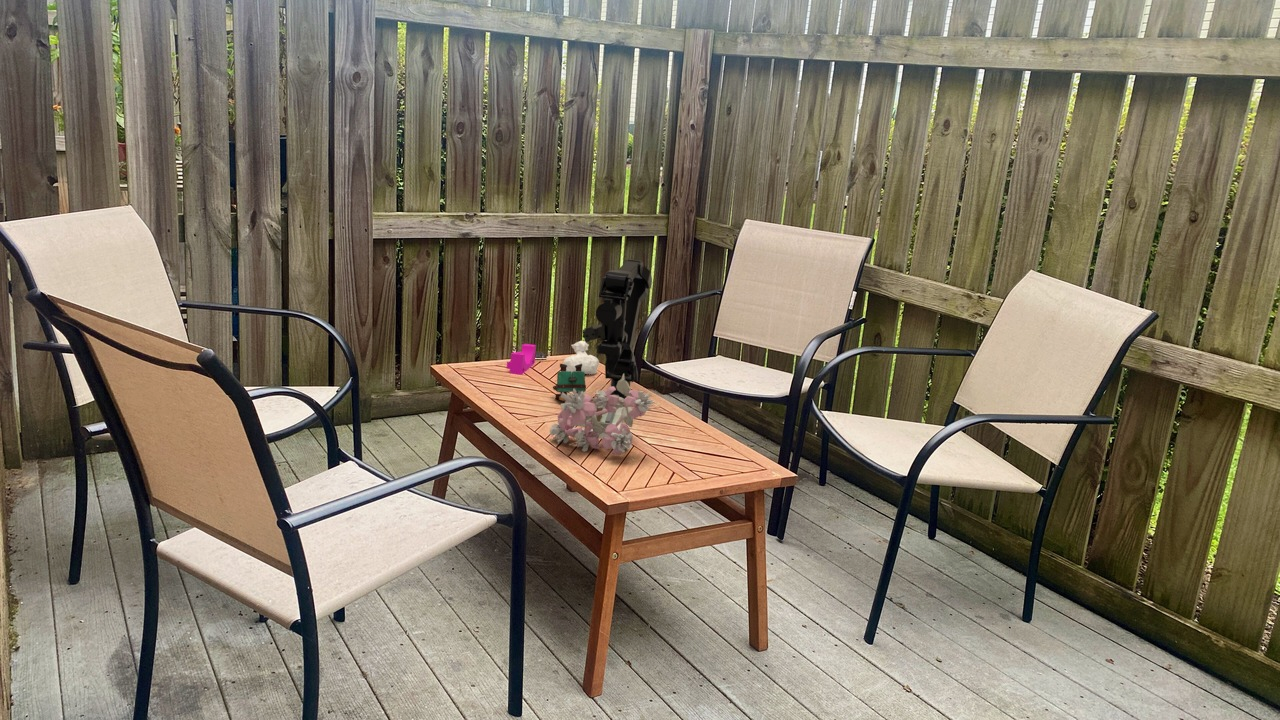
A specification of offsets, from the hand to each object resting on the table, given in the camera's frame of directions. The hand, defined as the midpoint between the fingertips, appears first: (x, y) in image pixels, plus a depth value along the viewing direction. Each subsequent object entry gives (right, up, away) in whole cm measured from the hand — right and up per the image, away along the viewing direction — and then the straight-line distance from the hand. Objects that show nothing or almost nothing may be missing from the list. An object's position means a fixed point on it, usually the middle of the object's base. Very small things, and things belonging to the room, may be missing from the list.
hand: (610, 372), depth 271 cm
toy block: (-30, 0, +37) cm, 48 cm away
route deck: (-5, -14, -8) cm, 17 cm away
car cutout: (-22, +2, +51) cm, 55 cm away
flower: (+10, -7, -23) cm, 26 cm away
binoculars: (-14, -4, +13) cm, 19 cm away
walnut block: (-5, -12, -11) cm, 17 cm away
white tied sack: (-11, -2, +38) cm, 39 cm away
